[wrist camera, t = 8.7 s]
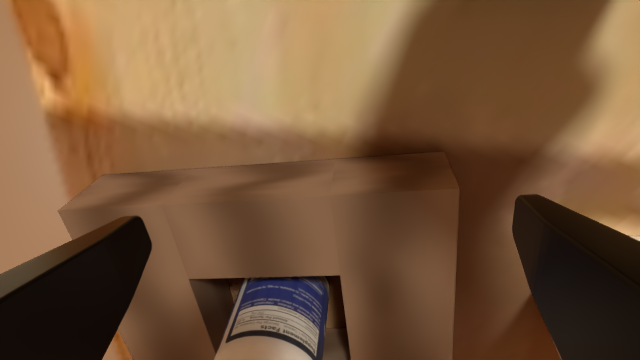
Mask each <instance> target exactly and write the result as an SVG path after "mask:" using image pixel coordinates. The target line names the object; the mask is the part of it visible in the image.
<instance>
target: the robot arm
mask: <svg viewBox="0 0 640 360" xmlns="http://www.w3.org/2000/svg"><path fill="white" fill-rule="evenodd" d="M512 232H513V237H514V241H515V244H516V247H517V250H518V253H519V256H520V259H521V262H522V266H523V269H524V272H525V275H526V278H527V281H528V284H529V287H530V290H531V293H532V296H533V298H534V300H535V303H536V305H537V307H538V309H539V311H540V314H541V316H542V318H543V320H544V322H545V324H546V326H547V329H548V331H549V333H550V335H551V337H552V339H553V341H554V344H555V346H556V348H557V350H558V352H559V354H560V356H561V359H562V360H640V241H638V240H636V239H634V238H632V237H630V236H627V235H625V234H623V233H621V232H619V231H617V230H614V229H612V228H610V227H608V226H606V225H603V224H601V223H599V222H597V221H595V220H593V219H590V218H588V217H586V216H584V215H582V214H580V213H577V212H575V211H573V210H571V209H569V208H567V207H564V206H562V205H560V204H558V203H556V202H554V201H551V200H549V199H547V198H545V197H543V196H541V195H538V194H530V195H519V196H518V197H517V198H516V201H515V208H514V217H513V225H512ZM151 251H152V241H151V239H150V236H149V234H148V231H147V229H146V226H145V224H144V221H143V219H142V218H141V217H140V216H137V215H134V216H123V217H120V218H118V219H116V220H114V221H112V222H110V223H107V224H105V225H103V226H101V227H99V228H97V229H95V230H93V231H91V232H88V233H86V234H84V235H82V236H80V237H78V238H76V239H74V240H72V241H69V242H67V243H65V244H63V245H61V246H59V247H57V248H55V249H53V250H51V251H48V252H46V253H44V254H42V255H40V256H38V257H36V258H34V259H32V260H29V261H27V262H25V263H23V264H21V265H19V266H16V267H14V268H12V269H10V270H8V271H6V272H4V273H2V274H0V360H102V358H103V356H104V354H105V353H106V351H107V349H108V347H109V345H110V343H111V341H112V339H113V337H114V335H115V333H116V331H117V329H118V327H119V325H120V324H121V322H122V320H123V318H124V316H125V314H126V312H127V310H128V308H129V306H130V304H131V301H132V299H133V297H134V294H135V292H136V289H137V287H138V284H139V282H140V279H141V277H142V274H143V271H144V269H145V266H146V264H147V261H148V259H149V256H150V254H151Z"/></svg>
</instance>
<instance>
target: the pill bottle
mask: <svg viewBox="0 0 640 360" xmlns="http://www.w3.org/2000/svg"><path fill="white" fill-rule="evenodd" d="M328 301H329V285H328V281H327V279H326V277H325V276H293V277H253V278H244V280H243V282H242V285H241V288H240V290H239V293H238V296H237V299H236V301H235V304H234V307H233V309H232V312H231V315H230V317H229V320H228V323H227V326H226V328H225V331H224V334H223V336H222V339H221V341H220V344H219V347H218V349H217V352H216V355H215V358H214V360H322V359H323V349H324V339H325V329H326V320H327V310H328Z"/></svg>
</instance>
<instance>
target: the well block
mask: <svg viewBox="0 0 640 360" xmlns="http://www.w3.org/2000/svg"><path fill="white" fill-rule="evenodd" d="M459 194H460V188H459V186H458V183H457V181H456V178H455V176H454V174H453V171H452V169H451V167H450V164H449V162H448V159H447V157H446V155H445V152H430V153H415V154H401V155H386V156H372V157H357V158H343V159H328V160H314V161H299V162H285V163H270V164H256V165H241V166H227V167H212V168H198V169H184V170H169V171H155V172H140V173H126V174H111V175H102V176H101V177H100V178H98V179H97V180H96V181H95V182H93V183H92V184H91V185H90V186H88V187H87V188H86V189H85V190H83V191H82V192H81V193H80V194H78V195H77V196H76V197H74V198H73V199H72V200H71V201H69V202H68V203H67V204H66V205H64V206H63V207H62V208H61V209H59V210H58V212H59V214H60V216H61V218H62V220H63V222H64V224H65V226H66V228H67V230H68V232H69V234H70V236H71V238H72V240H74V239H76V238H78V237H80V236H82V235H84V234H86V233H88V232H91V231H93V230H95V229H97V228H99V227H101V226H103V225H105V224H107V223H110V222H112V221H114V220H116V219H118V218H120V217H123V216H134V215H137V216H140V217H141V218H142V219H143V221H144V224H145V226H146V229H147V231H148V234H149V236H150V239H151V241H152V251H151V254H150V256H149V259H148V261H147V264H146V266H145V269H144V271H143V274H142V277H141V279H140V282H139V284H138V287H137V289H136V292H135V294H134V297H133V299H132V301H131V304H130V306H129V308H128V310H127V312H126V314H125V316H124V318H123V320H122V322H121V324H120V325H119V327H118V331H119V333H120V334H121V336H122V338H123V340H124V342H125V344H126V346H127V348H128V350H129V352H130V354H131V356H132V358H133V360H214V358H215V355H216V352H217V349H218V347H219V344H220V341H221V339H222V336H223V334H224V331H225V328H226V326H227V323H228V320H229V317H230V315H231V312H232V309H233V307H234V303H233V300H232V296H231V293H230V290H229V286H228V283H227V280H226V278H253V277H293V276H333V275H340V279H341V286H342V294H343V302H344V309H345V317H346V325H347V328H326V329H325V339H324V349H323V359H322V360H452V350H453V328H454V306H455V283H456V261H457V238H458V216H459Z"/></svg>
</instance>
